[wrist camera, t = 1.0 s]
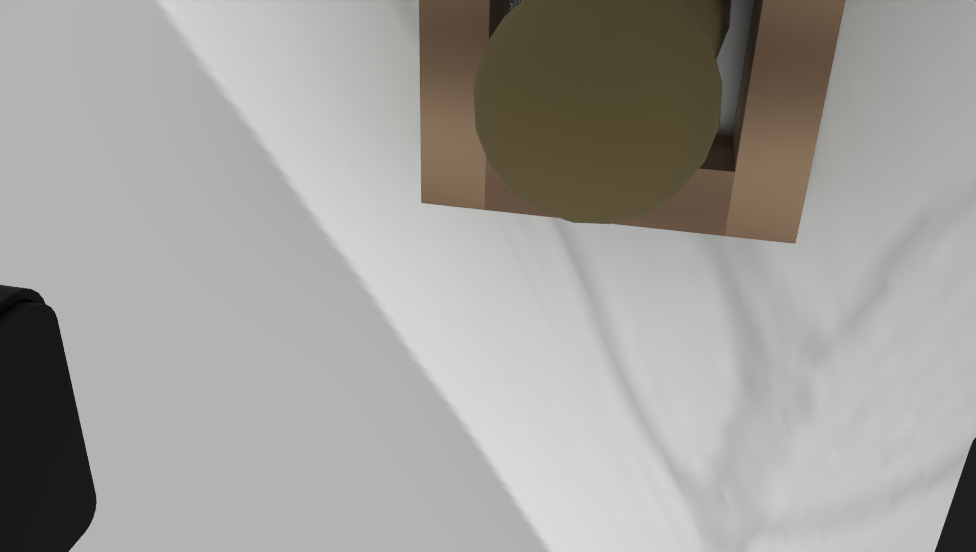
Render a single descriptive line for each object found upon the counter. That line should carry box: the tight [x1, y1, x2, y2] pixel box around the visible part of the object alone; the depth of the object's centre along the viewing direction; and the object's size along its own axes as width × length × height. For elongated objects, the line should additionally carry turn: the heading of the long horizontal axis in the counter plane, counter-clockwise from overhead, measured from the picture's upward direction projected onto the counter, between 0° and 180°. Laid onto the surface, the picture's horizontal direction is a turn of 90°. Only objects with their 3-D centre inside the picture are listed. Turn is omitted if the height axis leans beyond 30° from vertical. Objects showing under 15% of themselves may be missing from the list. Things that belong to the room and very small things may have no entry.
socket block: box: [419, 0, 845, 243], centre depth 26 cm, size 11×11×3 cm
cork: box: [473, 0, 731, 224], centre depth 23 cm, size 6×6×11 cm
